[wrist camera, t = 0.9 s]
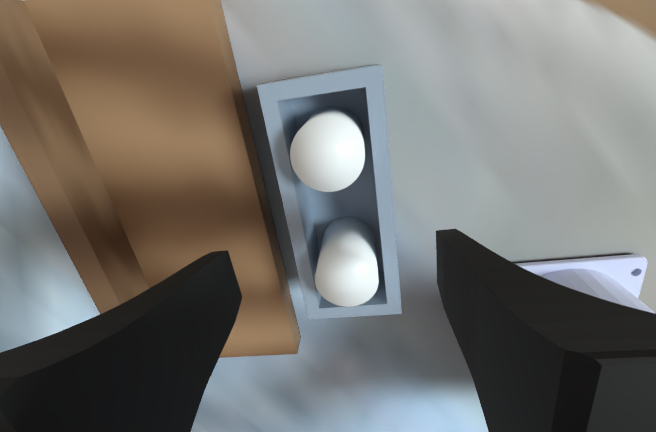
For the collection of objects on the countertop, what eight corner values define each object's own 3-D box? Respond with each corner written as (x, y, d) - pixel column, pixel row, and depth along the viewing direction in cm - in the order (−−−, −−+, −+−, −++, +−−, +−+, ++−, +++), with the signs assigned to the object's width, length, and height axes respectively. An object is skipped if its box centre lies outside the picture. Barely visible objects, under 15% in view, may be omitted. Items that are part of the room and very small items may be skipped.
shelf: (300, 337, 24) (290, 385, 21) (172, 344, 26) (141, 391, 22) (213, -30, 15) (168, -58, 12) (24, 11, 17) (-68, -3, 13)
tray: (394, 270, 21) (404, 327, 17) (316, 277, 22) (305, 332, 17) (377, 64, 16) (383, 65, 12) (278, 80, 17) (249, 87, 13)
